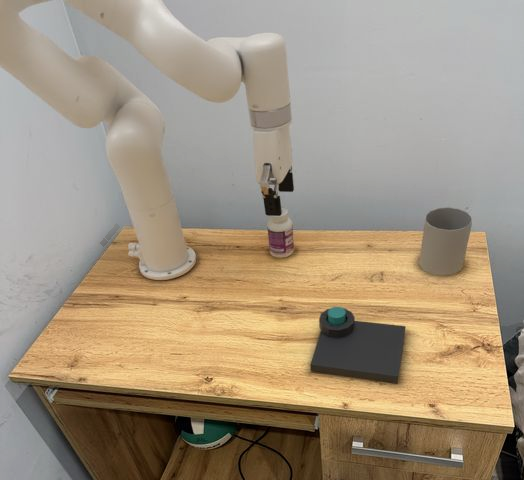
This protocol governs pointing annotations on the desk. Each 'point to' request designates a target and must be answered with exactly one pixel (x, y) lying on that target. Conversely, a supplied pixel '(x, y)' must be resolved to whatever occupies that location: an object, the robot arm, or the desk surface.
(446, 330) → the desk surface
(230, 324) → the desk surface
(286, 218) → the pill bottle
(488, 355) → the desk surface
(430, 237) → the cup
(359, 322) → the scale
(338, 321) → the button
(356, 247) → the desk surface
